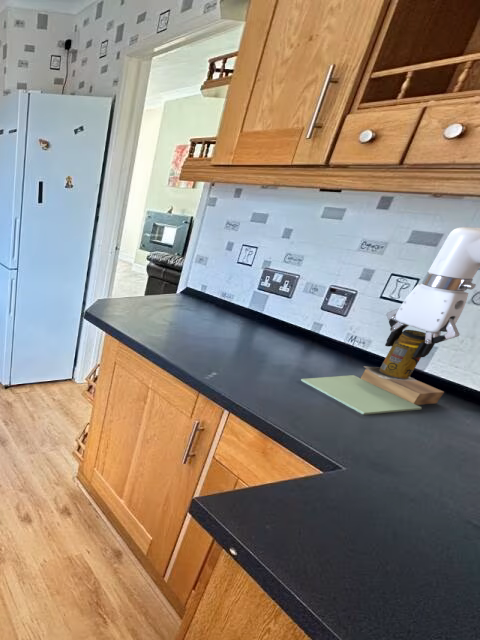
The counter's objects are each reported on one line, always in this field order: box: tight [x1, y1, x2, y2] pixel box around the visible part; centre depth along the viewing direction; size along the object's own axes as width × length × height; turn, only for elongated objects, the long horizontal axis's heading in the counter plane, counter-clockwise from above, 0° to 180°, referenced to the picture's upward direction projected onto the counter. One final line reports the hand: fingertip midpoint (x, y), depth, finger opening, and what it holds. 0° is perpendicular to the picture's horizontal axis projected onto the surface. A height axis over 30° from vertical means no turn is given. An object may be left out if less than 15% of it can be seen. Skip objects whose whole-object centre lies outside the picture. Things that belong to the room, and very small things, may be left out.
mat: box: [300, 374, 423, 416], centre depth 112 cm, size 18×18×1 cm
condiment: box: [363, 329, 426, 381], centre depth 108 cm, size 7×8×12 cm
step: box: [359, 368, 445, 406], centre depth 113 cm, size 8×14×4 cm, turn 10°
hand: (404, 350), depth 107 cm, fingers closed on condiment, 6 cm apart
